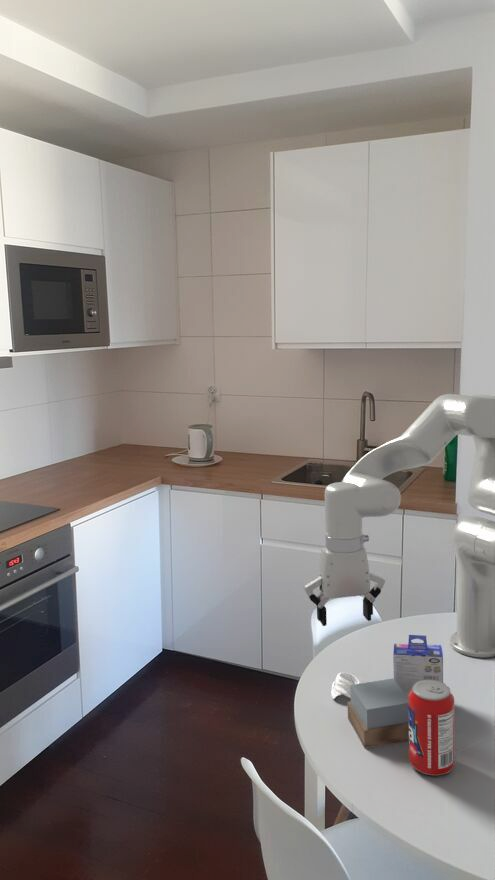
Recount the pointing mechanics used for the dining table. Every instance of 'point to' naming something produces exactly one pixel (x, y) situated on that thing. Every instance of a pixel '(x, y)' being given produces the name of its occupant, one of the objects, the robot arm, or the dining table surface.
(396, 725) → the base block
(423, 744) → the soda can
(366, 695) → the top block
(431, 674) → the ink cartridge box
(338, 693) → the white cloth bundle
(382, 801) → the dining table surface
